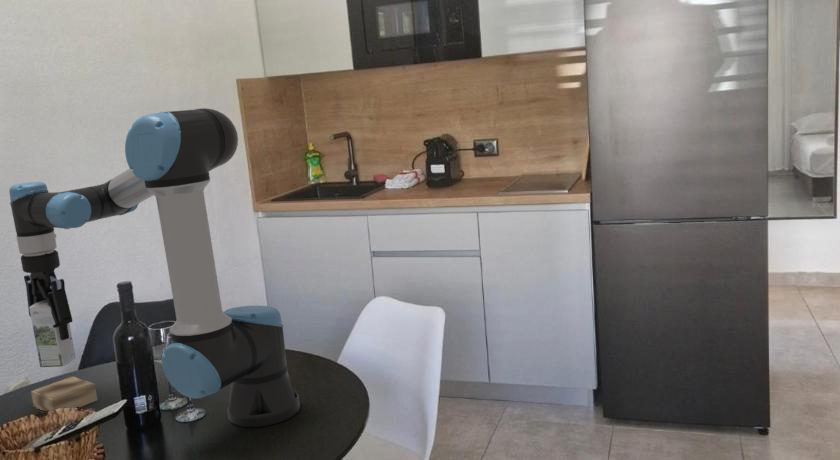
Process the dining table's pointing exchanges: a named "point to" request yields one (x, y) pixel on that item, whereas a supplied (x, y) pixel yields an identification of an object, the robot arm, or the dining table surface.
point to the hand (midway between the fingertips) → (55, 349)
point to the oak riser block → (64, 394)
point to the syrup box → (48, 337)
